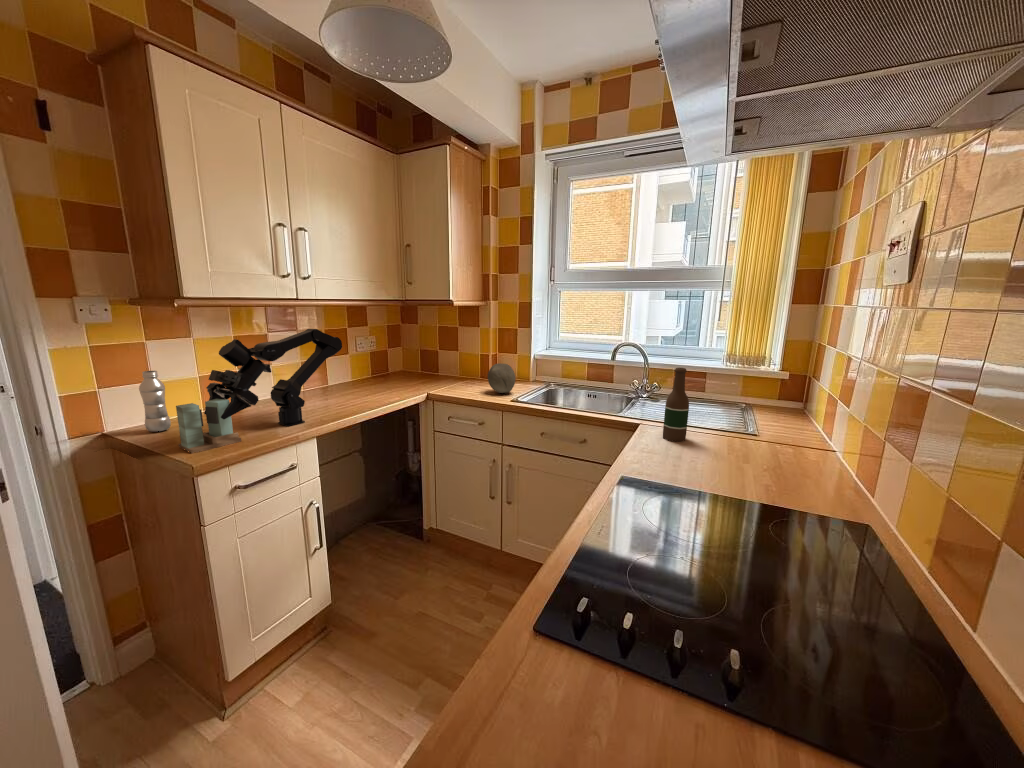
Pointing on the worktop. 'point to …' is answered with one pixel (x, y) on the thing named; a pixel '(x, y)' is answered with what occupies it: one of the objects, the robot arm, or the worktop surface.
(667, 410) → the beer bottle
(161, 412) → the plastic bottle
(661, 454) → the worktop surface
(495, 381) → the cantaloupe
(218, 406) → the block
